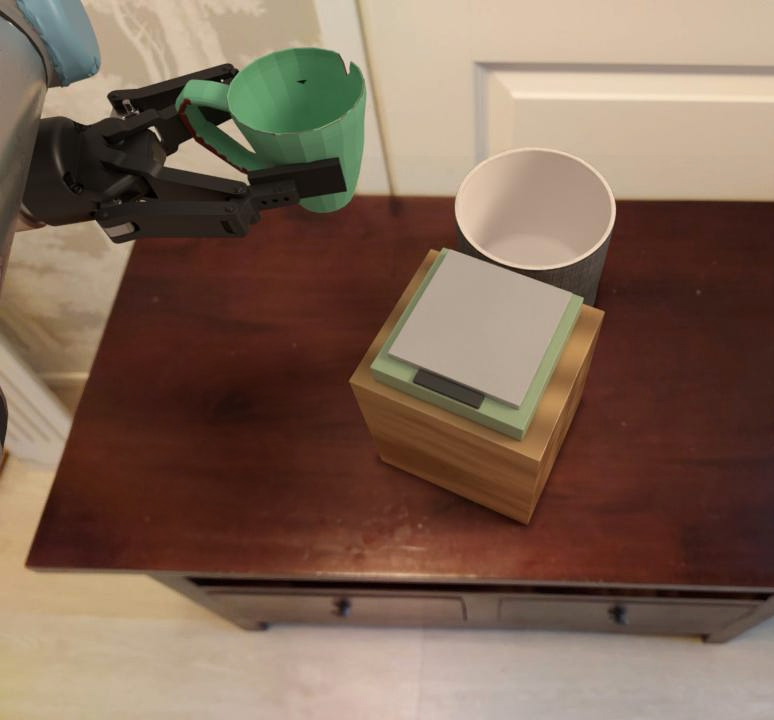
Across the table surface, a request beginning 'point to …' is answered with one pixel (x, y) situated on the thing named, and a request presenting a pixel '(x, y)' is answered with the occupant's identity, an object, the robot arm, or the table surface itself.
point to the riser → (475, 424)
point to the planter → (538, 217)
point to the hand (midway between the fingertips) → (336, 129)
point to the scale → (479, 342)
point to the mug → (286, 116)
